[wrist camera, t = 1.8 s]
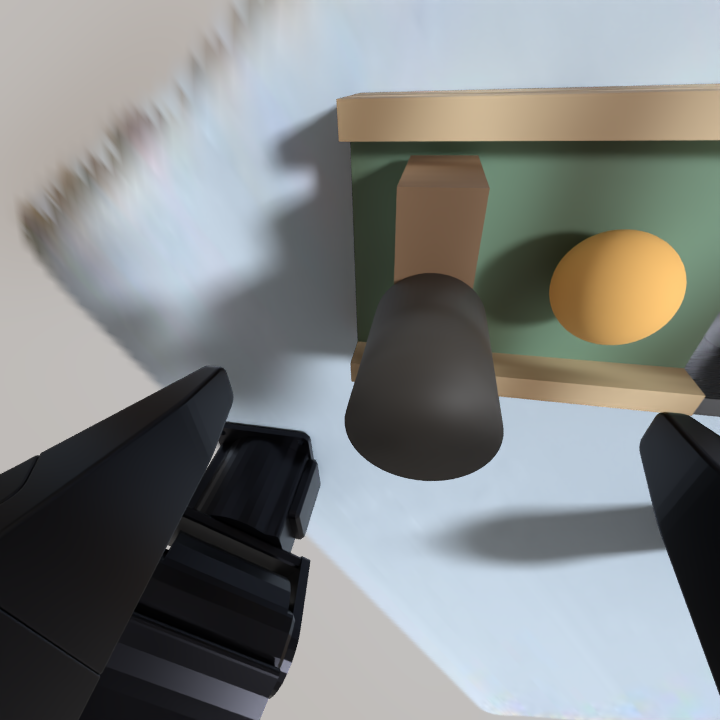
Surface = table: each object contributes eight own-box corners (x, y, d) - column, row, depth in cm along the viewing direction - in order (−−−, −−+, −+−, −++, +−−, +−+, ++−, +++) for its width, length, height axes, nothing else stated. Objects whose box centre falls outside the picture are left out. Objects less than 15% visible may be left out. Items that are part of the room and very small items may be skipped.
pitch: (365, 335, 19) (351, 381, 16) (360, 92, 13) (336, 98, 10) (651, 358, 17) (691, 415, 14) (803, 81, 11) (926, 86, 8)
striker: (389, 342, 16) (351, 518, 10) (394, 155, 12) (332, 253, 5) (463, 348, 15) (473, 538, 9) (495, 155, 11) (556, 263, 5)
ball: (529, 307, 14) (548, 362, 12) (555, 212, 12) (586, 253, 10) (630, 313, 14) (674, 373, 11) (675, 215, 12) (744, 259, 9)
